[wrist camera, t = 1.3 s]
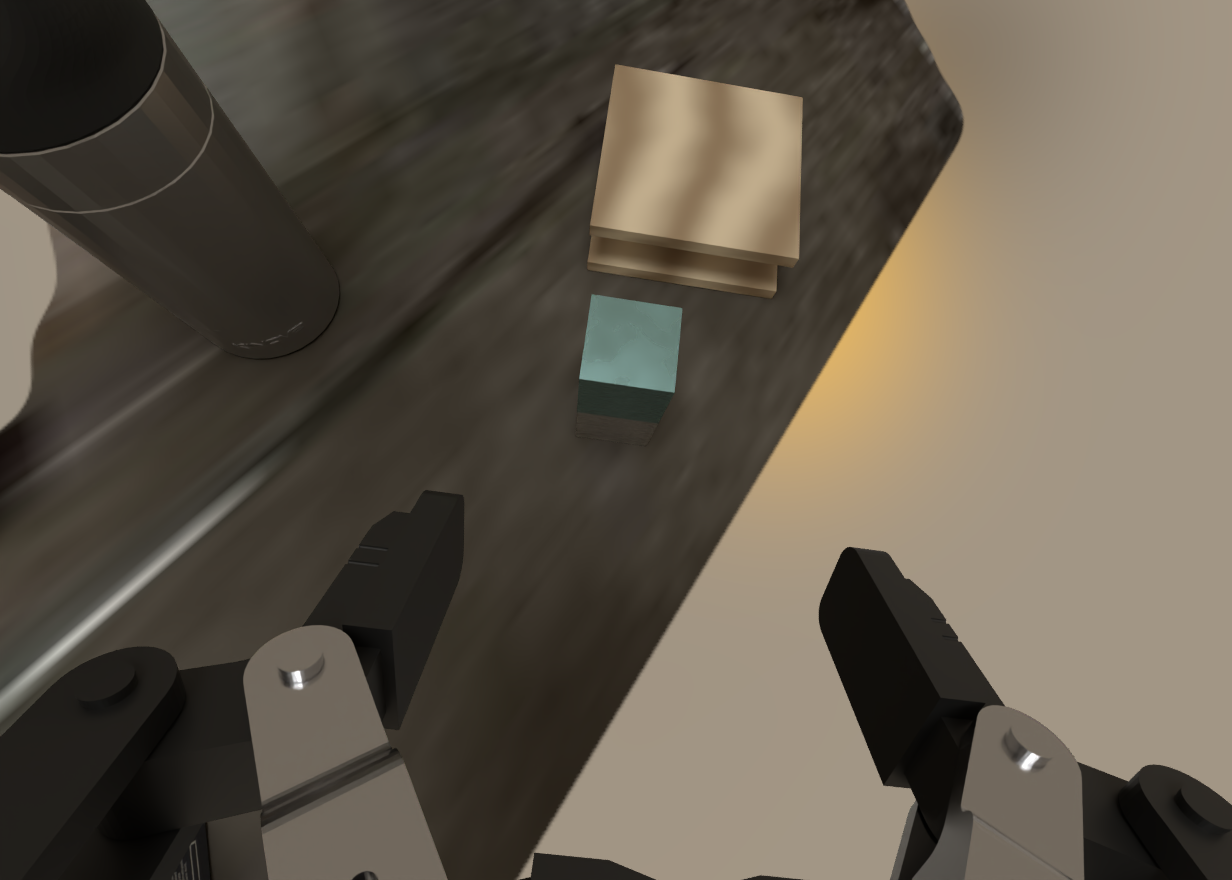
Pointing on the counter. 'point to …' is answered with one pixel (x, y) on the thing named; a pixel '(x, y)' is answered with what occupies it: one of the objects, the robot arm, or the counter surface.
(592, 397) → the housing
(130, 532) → the counter surface
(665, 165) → the stand
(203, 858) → the small box
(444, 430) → the counter surface
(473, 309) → the counter surface
